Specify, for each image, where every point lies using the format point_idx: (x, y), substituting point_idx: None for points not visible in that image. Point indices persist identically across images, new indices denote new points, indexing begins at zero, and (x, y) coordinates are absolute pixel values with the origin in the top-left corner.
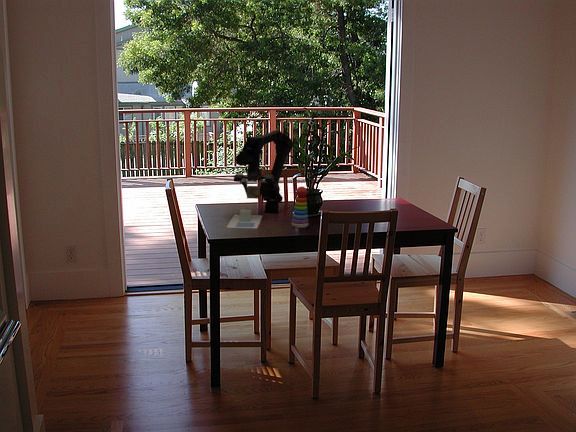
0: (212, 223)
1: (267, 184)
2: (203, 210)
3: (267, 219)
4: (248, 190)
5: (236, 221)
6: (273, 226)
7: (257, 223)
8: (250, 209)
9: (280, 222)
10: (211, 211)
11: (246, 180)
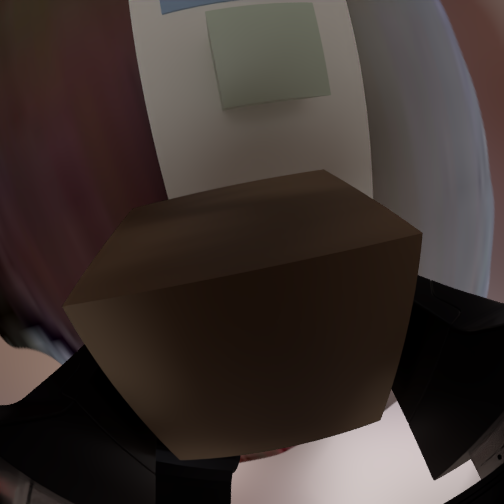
0: (429, 24)
1: (185, 502)
2: (481, 286)
3: (133, 204)
4: (352, 215)
5: None
6: (47, 44)
7: (143, 16)
8: (232, 97)
9: (37, 159)
10: (462, 283)
11: (444, 472)
